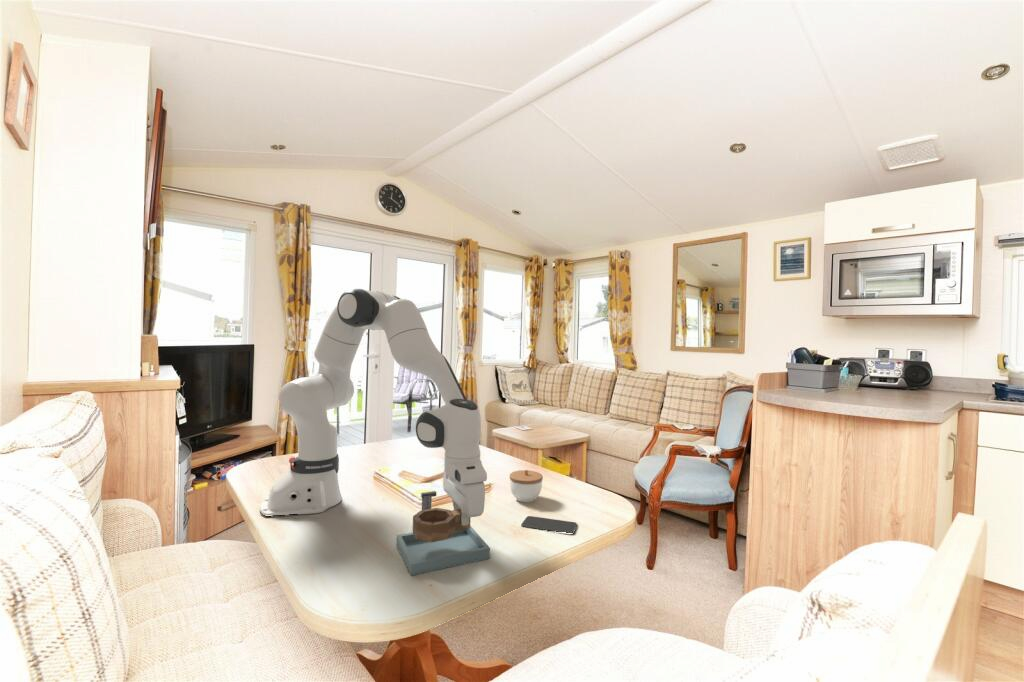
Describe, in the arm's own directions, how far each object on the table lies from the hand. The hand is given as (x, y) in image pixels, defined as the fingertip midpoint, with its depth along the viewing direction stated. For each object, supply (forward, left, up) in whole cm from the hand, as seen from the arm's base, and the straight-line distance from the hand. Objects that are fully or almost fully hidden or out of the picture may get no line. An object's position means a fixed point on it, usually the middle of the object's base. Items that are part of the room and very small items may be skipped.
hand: (461, 520), depth 112 cm
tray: (-5, 0, -7) cm, 8 cm away
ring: (-5, 0, -2) cm, 5 cm away
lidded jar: (+30, +23, -7) cm, 38 cm away
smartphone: (+27, +3, -8) cm, 28 cm away
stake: (-5, +15, -7) cm, 17 cm away
